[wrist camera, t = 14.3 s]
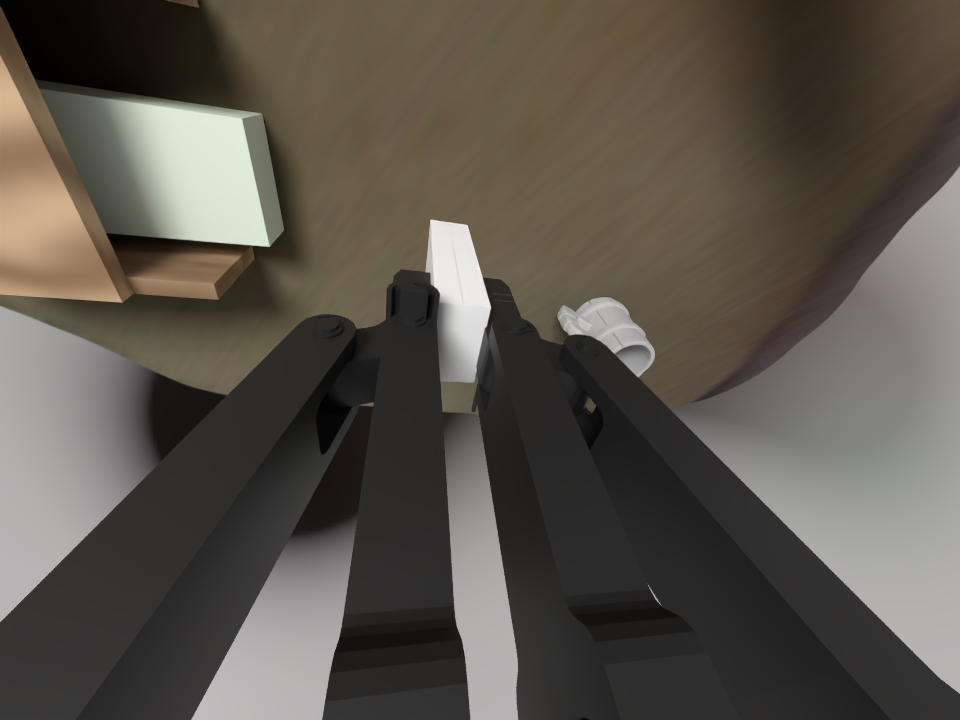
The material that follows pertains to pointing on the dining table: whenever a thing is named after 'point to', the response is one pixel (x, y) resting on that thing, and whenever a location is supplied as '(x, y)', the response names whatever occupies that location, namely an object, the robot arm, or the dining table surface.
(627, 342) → the mug
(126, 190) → the pale green block
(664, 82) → the dining table surface
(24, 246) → the wooden box
